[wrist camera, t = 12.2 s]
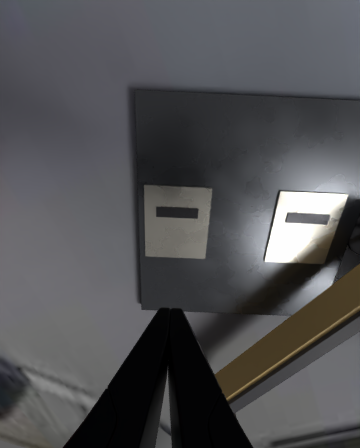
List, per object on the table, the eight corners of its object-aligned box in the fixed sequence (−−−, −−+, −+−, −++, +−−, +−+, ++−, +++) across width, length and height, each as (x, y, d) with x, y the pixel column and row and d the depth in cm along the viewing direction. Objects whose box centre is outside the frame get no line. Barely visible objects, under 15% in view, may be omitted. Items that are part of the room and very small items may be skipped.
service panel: (466, 107, 14) (484, 106, 13) (365, 314, 21) (372, 321, 20) (136, 91, 14) (133, 88, 13) (142, 304, 21) (140, 311, 20)
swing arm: (394, 203, 16) (465, 226, 12) (419, 230, 17) (495, 260, 13) (195, 365, 23) (198, 414, 19) (220, 379, 24) (228, 429, 20)
